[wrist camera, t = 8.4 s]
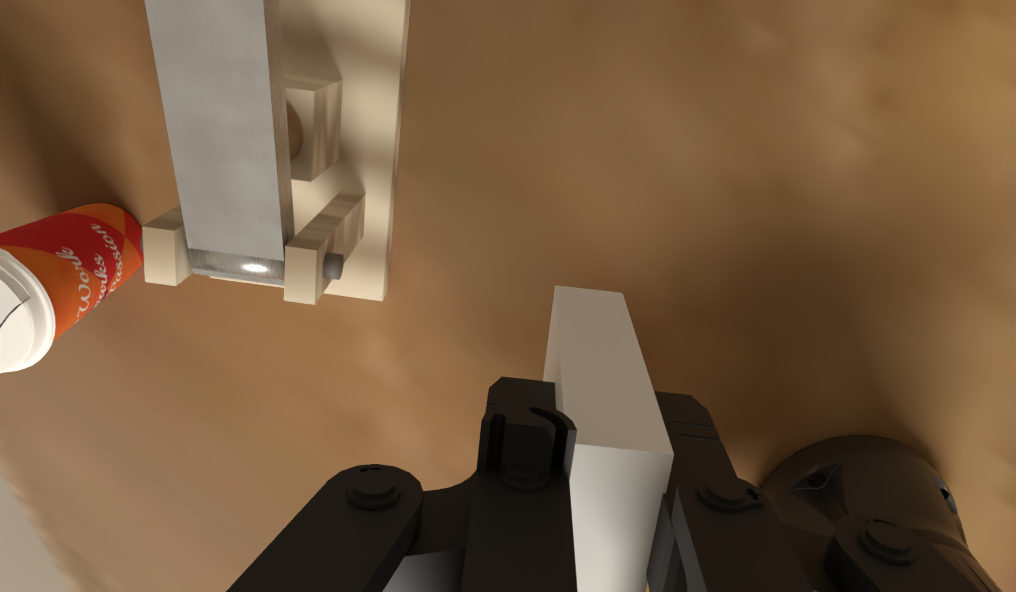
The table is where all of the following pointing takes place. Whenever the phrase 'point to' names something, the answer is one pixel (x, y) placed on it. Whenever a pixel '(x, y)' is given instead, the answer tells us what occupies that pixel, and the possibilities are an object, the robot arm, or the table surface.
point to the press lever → (227, 132)
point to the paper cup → (60, 275)
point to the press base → (345, 183)
